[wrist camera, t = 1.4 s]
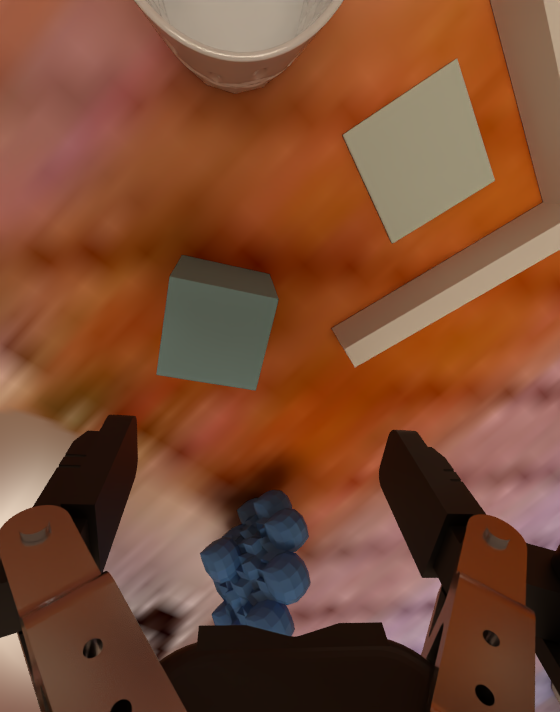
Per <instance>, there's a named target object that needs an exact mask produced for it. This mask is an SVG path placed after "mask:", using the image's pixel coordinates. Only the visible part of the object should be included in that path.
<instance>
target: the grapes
mask: <svg viewBox="0 0 560 712" xmlns="http://www.w3.org/2000/svg"><path fill="white" fill-rule="evenodd" d="M237 512H238V516H239V519H240V521H241V523H242V524H241V525H238V526H236V527H234V528H232V529H231V530H229V531H228V532H227V533H226V534H225V535H224V536H223V537H222V538H220V539H218V540H216V541H214V542H212V543H211V544H210V545H209V546H207V547H206V548H205V549H204V550H203V551H202V552H201V553H200V555H201V559H202V562H203V565H204V567H205V570H206V572H207V573H208V574H209V575H210V577H211V578H212V579H213V581H214V584H215V587H216V590H217V592H218V593H219V594H220V596H221V597H222V598H223V600H224V601H223V602H222V603H221V604H220V605H219V606H218V607H217V608H216V609H215V611H214V612H213V613H212V617H213V621H214V624H215V626H216V625H248V626H252V627H256V628H260V629H264V630H268V631H272V632H276V633H279V634H283V635H287V636H292V634H293V632H294V630H295V628H294V623H293V620H292V617H291V615H290V612H289V610H288V608H287V606H286V605H289V604H292V603H295V602H297V601H298V600H299V599H300V598H301V597H302V596H303V595H304V594H305V593H306V591H307V589H308V587H309V586H310V583H311V582H310V577H309V573H308V570H307V568H306V565H305V563H304V561H303V560H302V559H301V558H300V557H299V556H298V555H297V554H296V553H293V552H295V551H297V550H298V549H299V548H300V547H301V546H302V545H303V544H304V543H305V542H306V540H307V539H308V537H309V535H308V530H307V525H306V523H305V521H304V519H303V517H302V515H301V514H300V513H298V512H297V511H296V510H295V509H292V505H291V502H290V500H289V498H288V496H287V495H286V494H285V493H283V492H282V491H281V490H271V491H268V492H266V493H264V494H263V495H261V496H260V497H259V498H254V499H251V500H249V501H247V502H246V503H244V504H243V505H242V506H241V507H240V508H239V509H238V510H237Z"/></svg>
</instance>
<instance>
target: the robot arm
mask: <svg viewBox="0 0 560 712" xmlns="http://www.w3.org/2000/svg"><path fill="white" fill-rule="evenodd" d="M137 462H138V449H137V420H136V416H126V415H108V417H107V418H106V420H105V422H104V424H103V426H102V428H101V429H100V431H87V432H85V433H84V434H83V435H81V436H80V437H79V438H77V439H76V440H75V441H73V443H72V444H71V446H70V448H69V449H68V451H67V453H66V455H65V457H63V459H62V461H61V462H60V464H59V467H58V468H57V469H56V470H55V472H54V474H53V475H52V477H51V478H50V480H49V482H48V483H47V485H46V486H45V488H44V490H43V491H42V493H41V495H40V496H39V498H38V499H37V501H36V503H35V504H34V506H33V507H32V508H29V509H26V510H24V511H22V512H20V513H18V514H16V515H15V516H13V517H12V518H10V519H9V520H8V521H7V522H6V523H5V524H4V525H3V526H2V527H1V529H0V638H1V637H4V636H7V635H11V634H14V633H17V634H18V638H19V641H20V644H21V647H22V651H23V654H24V657H25V661H26V664H27V667H28V671H29V674H30V677H31V680H32V684H33V687H34V690H35V694H36V697H37V700H38V704H39V707H40V711H41V712H535V653H536V655H537V657H538V658H539V660H540V662H541V664H542V665H543V667H544V669H545V671H546V673H547V674H548V676H549V678H550V680H551V681H552V683H553V685H554V687H555V688H556V690H557V692H558V694H559V695H560V545H559V546H558V548H557V550H556V551H553V550H549V549H546V548H542V547H538V546H535V545H531V544H528V543H526V542H525V540H524V539H523V537H522V536H521V535H520V534H519V532H518V531H517V530H515V529H514V528H513V527H512V526H511V525H509V524H508V523H506V522H504V521H503V520H501V519H498V518H496V517H493V516H490V515H486V513H485V512H484V511H483V509H482V508H481V507H480V505H479V504H478V502H477V501H476V500H475V498H474V497H473V496H472V494H471V493H470V491H469V490H468V489H467V487H466V486H465V485H464V483H463V482H461V479H460V478H459V476H458V475H457V474H456V472H454V469H453V468H452V467H451V465H450V464H449V463H448V461H447V460H446V458H445V457H443V456H442V455H441V454H440V453H438V452H437V451H436V450H435V449H433V448H432V447H427V445H426V444H425V442H424V441H423V440H422V438H421V437H420V435H419V434H418V433H417V432H416V431H406V430H392V431H391V432H390V434H389V436H388V440H387V443H386V447H385V450H384V454H383V457H382V461H381V464H380V469H379V481H380V486H381V488H382V490H383V493H384V495H385V497H386V499H387V501H388V504H389V506H390V508H391V510H392V513H393V515H394V517H395V519H396V521H397V524H398V526H399V528H400V530H401V532H402V535H403V537H404V539H405V541H406V543H407V546H408V548H409V550H410V552H411V554H412V557H413V559H414V561H415V563H416V565H417V568H418V570H419V572H420V574H421V576H422V578H439V580H440V582H441V587H440V589H439V592H438V595H437V598H436V602H435V606H434V610H433V613H432V617H431V621H430V625H429V628H428V632H427V636H426V639H425V643H424V647H423V650H422V653H421V655H419V654H418V653H416V652H415V651H413V650H411V649H410V648H408V647H406V646H404V645H402V644H399V643H397V642H394V641H392V640H388V639H387V637H386V634H385V631H384V628H383V625H382V622H381V623H338V624H335V625H332V626H329V627H326V628H323V629H320V630H316V631H313V632H310V633H307V634H304V635H301V636H297V637H292V636H287V635H283V634H279V633H276V632H272V631H268V630H264V629H260V628H256V627H252V626H248V625H216V626H199V631H198V642H196V643H193V644H190V645H187V646H185V647H183V648H181V649H178V650H176V651H174V652H173V653H171V654H169V655H168V656H166V657H164V658H163V659H162V660H160V661H159V660H158V658H157V657H156V655H155V653H154V651H153V649H152V647H151V646H150V644H149V642H148V640H147V638H146V637H145V635H144V633H143V631H142V629H141V628H140V626H139V624H138V622H137V620H136V619H135V617H134V615H133V613H132V611H131V609H130V608H129V606H128V604H127V602H126V600H125V599H124V597H123V595H122V593H121V591H120V590H119V588H118V586H117V584H116V582H115V581H114V579H113V577H112V576H111V574H110V573H109V572H107V571H105V572H103V570H104V567H105V564H106V561H107V558H108V555H109V552H110V549H111V546H112V544H113V541H114V538H115V535H116V532H117V529H118V526H119V523H120V520H121V517H122V514H123V511H124V508H125V506H126V503H127V500H128V497H129V494H130V491H131V488H132V485H133V482H134V479H135V476H136V470H137Z"/></svg>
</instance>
